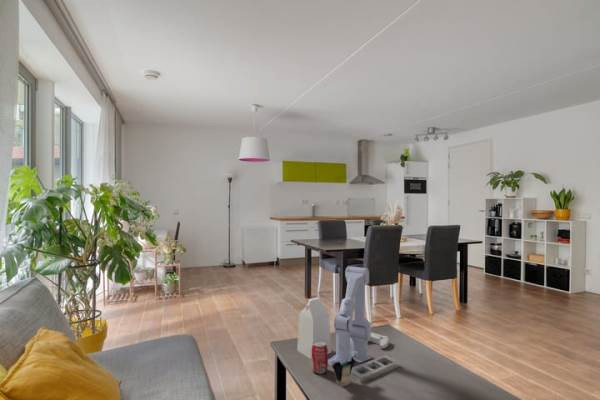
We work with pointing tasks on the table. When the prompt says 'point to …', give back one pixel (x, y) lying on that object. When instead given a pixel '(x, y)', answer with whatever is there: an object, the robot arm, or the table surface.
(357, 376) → the grey compartment tray
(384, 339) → the game controller
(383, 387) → the table surface
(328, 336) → the milk
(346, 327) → the robot arm
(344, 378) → the peg
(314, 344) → the soda can
